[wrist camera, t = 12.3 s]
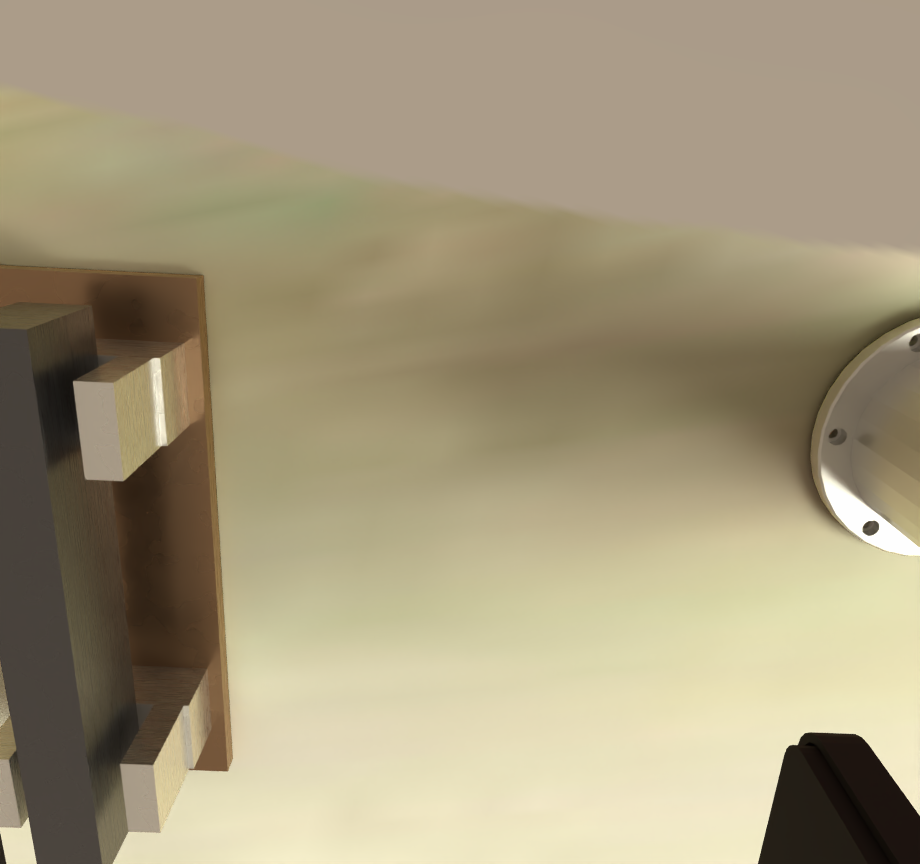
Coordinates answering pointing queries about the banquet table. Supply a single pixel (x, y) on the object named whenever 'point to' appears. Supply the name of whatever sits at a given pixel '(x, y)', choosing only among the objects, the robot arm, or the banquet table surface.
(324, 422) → the banquet table surface
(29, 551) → the dark grey bar
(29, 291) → the bracket
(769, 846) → the robot arm
